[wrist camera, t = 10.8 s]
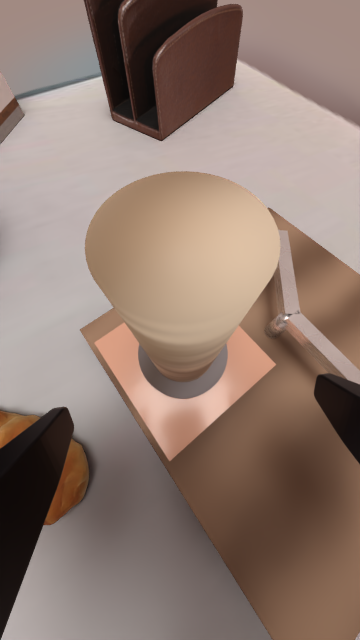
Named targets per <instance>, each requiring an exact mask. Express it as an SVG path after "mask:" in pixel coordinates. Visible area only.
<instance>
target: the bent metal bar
mask: <svg viewBox="0 0 360 640" xmlns="http://www.w3.org/2000/svg"><path fill="white" fill-rule="evenodd" d="M278 232H279V236H280V257H279V261H278V264H277V268H276V270H275V272H274V280H275V289H276V298H277V307H278V316H277V317H276V318H275V319H273V320H272V321H271V322H270V323H269V324H268V325H267V326H266V327H265V330H264V331H265V334H266V335H267V336H268V337H269V338H277V337H278V336H279V335H281V334H282V333H284V332H285V331H286V330H288V331H289V333H290V334H291V335H292V336H293V337H294V338H295V339H296V340H297V341H298V342H299V343H300V344H301V345H302V346H303V347H304V348H305V349H306V350H307V351H308V352H309V354H310V355H311V356H312V357H313V358H314V359H315V360H316V361H317V362H318V363H319V364H320V365H321V366H322V367H323V368H324V369H325V370H326V371H327V372H328V373H331V374H334V375H337V376H339V377H342V378H344V379H347V380H350V381H352V382H355V383H357V384H360V370H359V369H358V368H357V367H356V366H354V365H353V364H352V363H351V362H350V361H349V360H348V359H347V358H346V357H345V356H344V355H343V354H342V353H341V352H340V351H339V350H338V349H337V348H336V347H335V346H334V345H333V344H332V343H331V342H330V341H329V340H328V339H327V338H326V337H325V336H324V335H323V334H322V333H321V332H320V331H319V330H318V329H317V328H316V327H315V326H314V325H313V324H312V323H311V322H310V321H309V320H308V319H307V318H306V317H305V316H304V315H303V314H302V313H301V312H300V307H299V301H298V294H297V288H296V282H295V275H294V269H293V263H292V256H291V250H290V243H289V237H288V231H285V230H278Z"/></svg>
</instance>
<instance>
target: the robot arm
mask: <svg viewBox="0 0 360 640" xmlns="http://www.w3.org/2000/svg"><path fill="white" fill-rule="evenodd" d="M314 397H315V399H316V401H317V402H318V404H319V406H320V407H321V409H322V410H323V412H324V414H325V415H326V417H327V418H328V420H329V421H330V423H331V425H332V426H333V428H334V429H335V431H336V433H337V434H338V436H339V437H340V439H341V440H342V441H343V443H344V444H345V446H346V447H347V448H348V450H349V451H350V452H351V454H352V455H353V456H354V458H355V459H356V460H357V462H358V463H359V464H360V384H357V383H355V382H352V381H350V380H347V379H344V378H342V377H339V376H337V375H334V374H331V373H325V374H319V375H318V376H317V377H316V382H315V387H314ZM73 431H74V424H73V421H72V418H71V416H70V413H69V410H68V408H66V407H58V408H53V409H52V410H50V411H49V412H48V413H46V414H45V415H44V416H42V417H41V418H40V419H38V420H37V421H36V422H35V423H33V424H32V425H31V426H29V427H28V428H27V429H25V430H24V431H23V432H21V433H20V434H19V435H17V436H16V437H15V438H14V439H12V440H11V441H10V442H8V443H7V444H6V445H4V446H3V447H2V448H0V640H1V638H2V635H3V632H4V629H5V627H6V624H7V621H8V619H9V616H10V613H11V611H12V608H13V605H14V603H15V600H16V597H17V595H18V592H19V589H20V587H21V584H22V581H23V578H24V576H25V573H26V570H27V568H28V565H29V562H30V560H31V557H32V554H33V552H34V549H35V546H36V544H37V541H38V538H39V535H40V533H41V530H42V527H43V525H44V522H45V519H46V517H47V514H48V511H49V509H50V506H51V503H52V501H53V498H54V495H55V492H56V490H57V487H58V484H59V481H60V478H61V475H62V472H63V468H64V464H65V461H66V457H67V453H68V450H69V446H70V442H71V439H72V435H73Z"/></svg>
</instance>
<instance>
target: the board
mask: <svg viewBox="0 0 360 640" xmlns="http://www.w3.org/2000/svg"><path fill="white" fill-rule="evenodd" d="M267 209H268V210H269V212H270V213H271V215H272V217H273V218H274V221H275V223H276V225H277V228H278V230H285V231H288V237H289V243H290V250H291V256H292V263H293V269H294V275H295V282H296V288H297V294H298V301H299V307H300V312H301V313H302V314H303V315H304V316H305V317H306V318H307V319H308V320H309V321H310V322H311V323H312V324H313V325H314V326H315V327H316V328H317V329H318V330H319V331H320V332H321V333H322V334H323V335H324V336H325V337H326V338H327V339H328V340H329V341H330V342H331V343H332V344H333V345H334V346H335V347H336V348H337V349H338V350H339V351H340V352H341V353H342V354H343V355H344V356H345V357H346V358H347V359H348V360H349V361H350V362H351V363H352V364H353V365H354V366H356V367H357V368H358V369H359V370H360V274H358V273H357V272H355V271H354V270H353V269H351V268H350V267H349V266H347V265H346V264H345V263H343V262H342V261H341V260H339V259H338V258H337V257H335V256H334V255H332V254H331V253H330V252H328V251H327V250H326V249H324V248H323V247H322V246H320V245H319V244H318V243H316V242H315V241H314V240H312V239H311V238H310V237H308V236H307V235H305V234H304V233H303V232H301V231H300V230H299V229H297V228H296V227H295V226H293V225H292V224H291V223H289V222H288V221H287V220H285V219H284V218H283V217H281V216H280V215H278V214H277V213H276V212H274V211H273V210H272V209H270V208H267ZM277 316H278V307H277V298H276V289H275V280H274V274H273V276H272V278H271V279H270V281H269V282H268V284H267V285H266V287H265V288H264V289H263V291H262V292H261V294H260V295H259V297H258V298H257V300H256V301H255V302H254V304H253V305H252V307H251V308H250V310H249V311H248V313H247V314H246V315H245V317H244V318H243V320H242V321H241V323H240V324H239V326H240V327H241V328H242V329H243V330H244V331H245V332H246V334H247V335H248V336H249V337H250V338H251V339H252V340H253V341H254V342H255V343H256V344H257V345H258V346H259V347H260V348H261V349H262V350H263V351H264V352H265V353H266V354H267V355H268V356H269V358H270V359H271V360H272V361H273V362H274V363H275V364H276V365H275V366H274V367H273V368H272V369H271V370H270V371H269V372H268V373H266V374H265V375H264V376H263V377H262V378H261V379H260V380H259V381H258V382H257V383H255V384H254V385H253V386H252V387H251V388H250V389H249V390H248V391H247V392H246V393H244V394H243V395H242V396H241V397H240V398H239V399H238V400H237V401H236V402H235V403H233V404H232V405H231V406H230V407H229V408H228V409H227V410H226V411H225V412H224V413H222V414H221V415H220V416H219V417H218V418H217V419H216V420H215V421H214V422H213V423H211V424H210V425H209V426H208V427H207V428H206V429H205V430H204V431H203V432H201V433H200V434H199V435H198V436H197V437H196V438H195V439H194V440H193V441H192V442H190V443H189V444H188V445H187V446H186V447H185V448H184V449H183V450H182V451H181V452H179V453H178V454H177V455H176V456H175V457H174V458H173V459H172V460H171V461H169V460H168V458H167V457H166V455H165V454H164V452H163V450H162V449H161V447H160V446H159V444H158V442H157V441H156V439H155V438H154V436H153V435H152V433H151V431H150V430H149V428H148V427H147V425H146V424H145V422H144V420H143V419H142V417H141V416H140V414H139V413H138V411H137V409H136V408H135V406H134V405H133V403H132V402H131V400H130V398H129V397H128V395H127V394H126V392H125V391H124V389H123V387H122V386H121V384H120V383H119V381H118V380H117V378H116V376H115V375H114V373H113V372H112V370H111V369H110V367H109V365H108V364H107V362H106V361H105V359H104V358H103V356H102V354H101V353H100V351H99V350H98V348H97V347H96V345H95V343H94V342H96V341H97V340H99V339H100V338H102V337H103V336H105V335H106V334H108V333H109V332H111V331H112V330H114V329H115V328H117V327H118V326H120V325H121V324H123V323H124V321H123V320H122V318H121V317H120V315H119V314H118V313H117V311H116V310H115V308H113V309H111V310H110V311H108V312H107V313H105V314H103V315H102V316H100V317H99V318H97V319H96V320H94V321H93V322H91V323H90V324H88V325H86V326H85V327H83V328H82V329H80V331H81V333H82V334H83V336H84V338H85V339H86V341H87V342H88V344H89V346H90V347H91V349H92V350H93V352H94V354H95V355H96V357H97V358H98V360H99V362H100V363H101V365H102V366H103V368H104V370H105V371H106V373H107V374H108V376H109V378H110V379H111V381H112V382H113V384H114V386H115V387H116V389H117V391H118V392H119V394H120V395H121V397H122V399H123V400H124V402H125V403H126V405H127V407H128V408H129V410H130V411H131V413H132V415H133V416H134V418H135V419H136V421H137V423H138V424H139V426H140V427H141V429H142V431H143V432H144V434H145V435H146V437H147V439H148V440H149V442H150V444H151V445H152V447H153V448H154V450H155V452H156V453H157V455H158V456H159V458H160V460H161V461H162V463H163V464H164V466H165V468H166V469H167V471H168V472H169V474H170V476H171V477H172V479H173V480H174V482H175V484H176V485H177V487H178V488H179V490H180V492H181V493H182V495H183V496H184V498H185V500H186V501H187V503H188V505H189V506H190V508H191V509H192V511H193V513H194V514H195V516H196V517H197V519H198V521H199V522H200V524H201V525H202V527H203V529H204V530H205V532H206V533H207V535H208V537H209V538H210V540H211V541H212V543H213V545H214V546H215V548H216V549H217V551H218V553H219V554H220V556H221V558H222V559H223V561H224V562H225V564H226V566H227V567H228V569H229V570H230V572H231V574H232V575H233V577H234V578H235V580H236V582H237V583H238V585H239V586H240V588H241V590H242V591H243V593H244V594H245V596H246V598H247V599H248V601H249V602H250V604H251V606H252V607H253V609H254V610H255V612H256V614H257V615H258V617H259V619H260V620H261V622H262V623H263V625H264V627H265V628H266V630H267V631H268V633H269V635H270V636H271V638H272V639H273V640H355V638H356V637H357V635H358V634H359V632H360V464H359V463H358V462H357V460H356V459H355V458H354V456H353V455H352V454H351V452H350V451H349V450H348V448H347V447H346V446H345V444H344V443H343V441H342V440H341V439H340V437H339V436H338V434H337V433H336V431H335V429H334V428H333V426H332V425H331V423H330V421H329V420H328V418H327V417H326V415H325V414H324V412H323V410H322V409H321V407H320V406H319V404H318V402H317V401H316V399H315V397H314V387H315V382H316V377H317V376H318V375H319V374H325V373H328V372H327V371H326V370H325V369H324V368H323V367H322V366H321V365H320V364H319V363H318V362H317V361H316V360H315V359H314V358H313V357H312V356H311V355H310V354H309V352H308V351H307V350H306V349H305V348H304V347H303V346H302V345H301V344H300V343H299V342H298V341H297V340H296V339H295V338H294V337H293V336H292V335H291V334H290V333H289V331H288V330H286V331H285V332H284V333H282V334H281V335H279V336H278V337H277V338H269V337H268V336H267V335H266V334H265V331H264V330H265V327H266V326H267V325H268V324H269V323H270V322H271V321H272V320H273V319H275V318H276V317H277Z"/></svg>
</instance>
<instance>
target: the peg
mask: <svg viewBox="0 0 360 640" xmlns="http://www.w3.org/2000/svg"><path fill="white" fill-rule="evenodd" d="M85 254H86V261H87V264H88V267H89V270H90V272H91V274H92V276H93V278H94V280H95V282H96V283H97V284H98V286H99V287H100V289H101V290H102V291H103V293H104V294H105V296H106V297H107V298H108V300H109V301H110V303H111V304H112V306H113V307H114V308H115V310H116V311H117V313H118V314H119V315H120V317H121V318H122V320H123V321H124V322H125V324H126V325H127V327H128V328H129V330H130V331H131V332H132V334H133V335H134V337H135V338H136V339H137V341H138V342H139V348H138V360H139V365H140V368H141V371H142V373H143V375H144V377H145V378H146V380H147V381H148V382H149V383H150V384H151V385H152V386H153V387H154V388H155V389H156V390H158V391H160V392H161V393H163V394H165V395H167V396H170V397H173V398H180V399H187V398H193V397H196V396H199V395H201V394H203V393H205V392H206V391H208V390H210V389H211V388H212V387H213V386H214V385H215V384H216V383H217V382H218V381H219V379H220V378H221V376H222V375H223V373H224V371H225V368H226V364H227V359H228V350H227V344H226V343H227V341H228V340H229V338H230V337H231V336H232V334H233V333H234V331H235V330H236V328H237V327H238V325H239V324H240V323H241V321H242V320H243V318H244V317H245V315H246V314H247V313H248V311H249V310H250V308H251V307H252V305H253V304H254V302H255V301H256V300H257V298H258V297H259V295H260V294H261V292H262V291H263V289H264V288H265V287H266V285H267V284H268V282H269V281H270V279H271V278H272V276H273V274H274V272H275V270H276V268H277V264H278V261H279V257H280V236H279V232H278V228H277V225H276V223H275V221H274V218H273V217H272V215H271V213H270V212H269V210H268V209H267V208H266V206H265V205H264V204H263V203H262V202H261V201H260V200H259V199H258V198H257V197H256V196H255V195H254V194H252V193H251V192H249V191H248V190H247V189H245V188H243V187H242V186H240V185H238V184H236V183H234V182H232V181H230V180H227V179H224V178H222V177H219V176H215V175H211V174H206V173H199V172H187V171H186V172H168V173H161V174H156V175H152V176H149V177H145V178H143V179H140V180H137V181H135V182H133V183H131V184H129V185H127V186H125V187H123V188H122V189H120V190H119V191H117V192H116V193H115V194H113V195H112V196H111V197H109V198H108V199H107V200H106V201H105V202H104V203H103V204H102V206H101V207H100V208H99V209H98V211H97V212H96V214H95V215H94V217H93V219H92V220H91V223H90V225H89V228H88V231H87V235H86V240H85Z"/></svg>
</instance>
